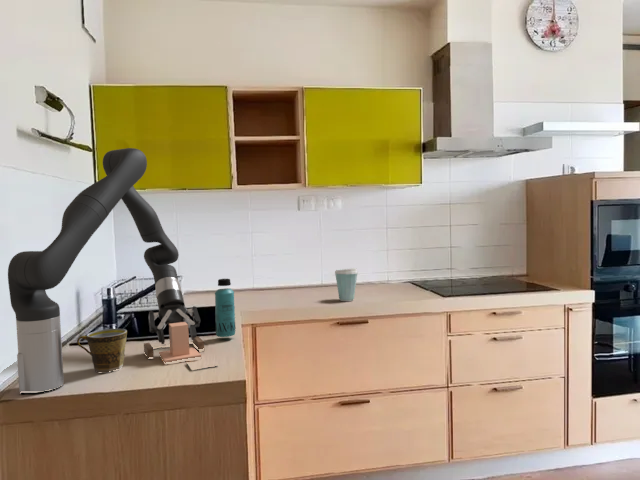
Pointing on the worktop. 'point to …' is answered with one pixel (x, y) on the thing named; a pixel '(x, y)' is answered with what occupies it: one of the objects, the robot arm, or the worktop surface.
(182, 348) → the footed block
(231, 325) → the beverage bottle
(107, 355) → the ceramic cup
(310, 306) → the worktop surface
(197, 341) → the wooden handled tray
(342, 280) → the disposable coffee cup
